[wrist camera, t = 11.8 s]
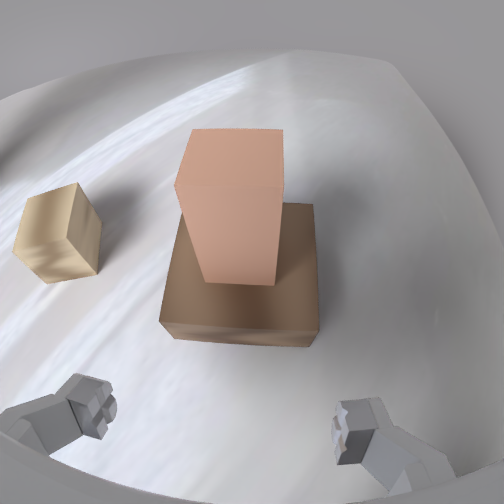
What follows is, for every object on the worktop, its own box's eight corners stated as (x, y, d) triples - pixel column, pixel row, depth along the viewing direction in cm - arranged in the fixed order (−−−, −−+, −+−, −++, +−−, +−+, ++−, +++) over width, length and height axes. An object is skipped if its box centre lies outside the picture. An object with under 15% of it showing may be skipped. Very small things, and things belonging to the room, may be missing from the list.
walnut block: (174, 338, 22) (158, 321, 18) (193, 229, 27) (185, 200, 24) (308, 346, 21) (319, 330, 18) (306, 233, 27) (312, 204, 23)
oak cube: (47, 284, 24) (12, 252, 19) (55, 234, 27) (27, 198, 22) (97, 275, 25) (66, 237, 20) (102, 222, 28) (78, 182, 23)
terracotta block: (205, 282, 20) (174, 185, 12) (212, 232, 22) (192, 129, 14) (274, 285, 20) (283, 187, 12) (275, 234, 22) (282, 129, 14)
